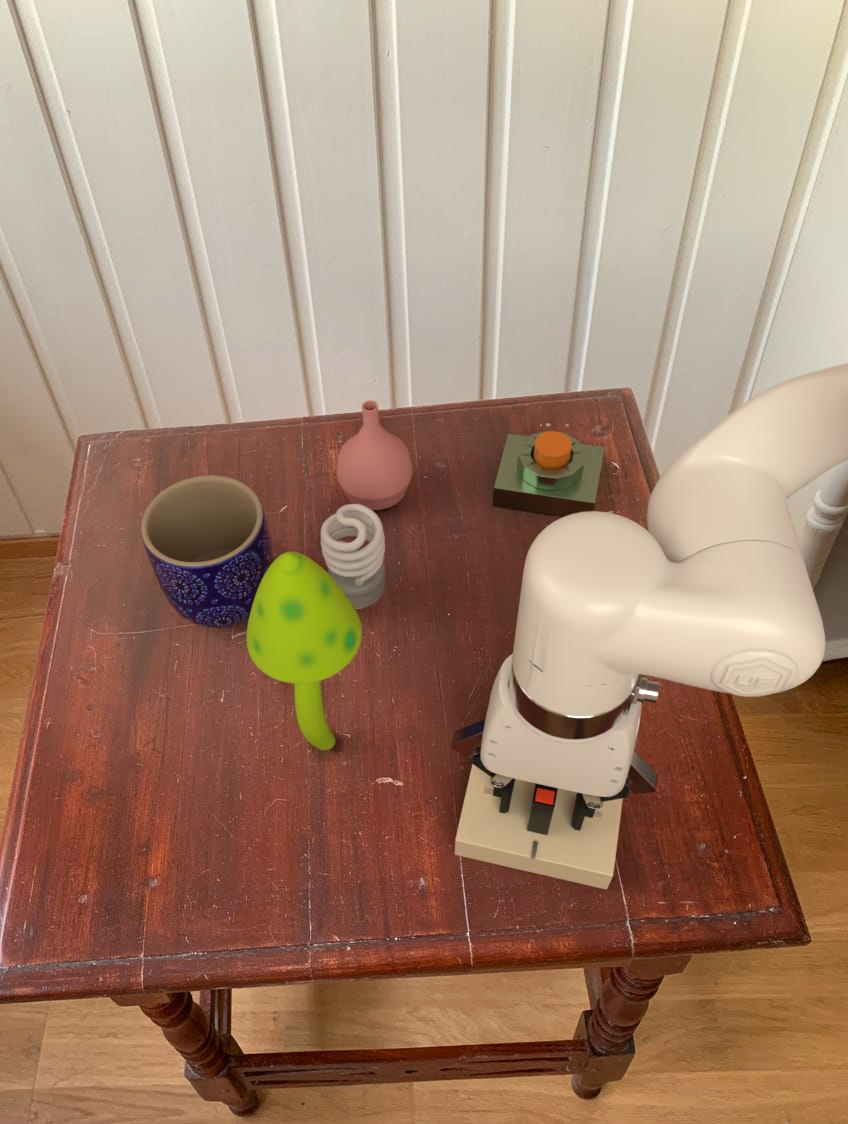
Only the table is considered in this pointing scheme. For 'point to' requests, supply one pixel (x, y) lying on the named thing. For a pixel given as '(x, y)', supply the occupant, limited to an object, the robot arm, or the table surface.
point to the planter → (208, 548)
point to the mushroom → (303, 635)
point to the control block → (547, 479)
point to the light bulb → (355, 553)
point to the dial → (542, 809)
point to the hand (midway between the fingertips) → (542, 803)
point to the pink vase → (374, 464)
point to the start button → (552, 450)
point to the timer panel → (549, 855)
